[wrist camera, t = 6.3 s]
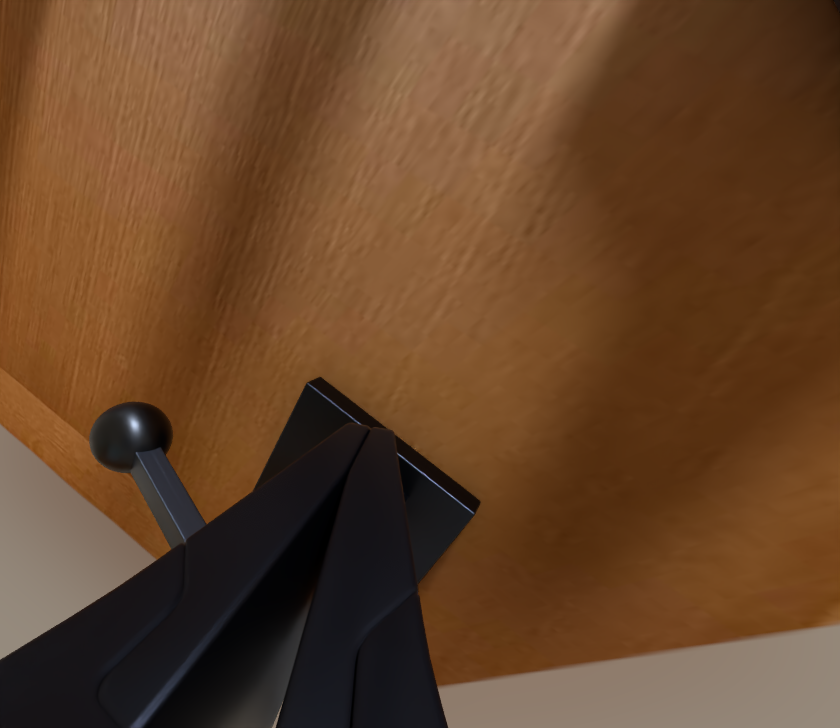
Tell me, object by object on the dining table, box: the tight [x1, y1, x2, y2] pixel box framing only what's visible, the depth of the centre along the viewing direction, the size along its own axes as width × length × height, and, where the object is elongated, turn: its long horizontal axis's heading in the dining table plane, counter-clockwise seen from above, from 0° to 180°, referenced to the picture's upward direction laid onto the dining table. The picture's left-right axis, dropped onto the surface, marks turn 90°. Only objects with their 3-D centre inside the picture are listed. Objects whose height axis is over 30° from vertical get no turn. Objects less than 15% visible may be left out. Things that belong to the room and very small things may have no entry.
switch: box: [89, 402, 206, 549], centre depth 17 cm, size 12×3×3 cm, turn 58°
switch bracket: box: [253, 377, 481, 585], centre depth 19 cm, size 10×8×11 cm
